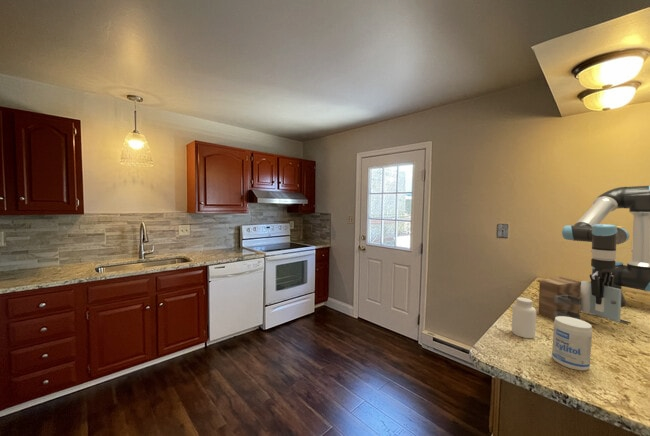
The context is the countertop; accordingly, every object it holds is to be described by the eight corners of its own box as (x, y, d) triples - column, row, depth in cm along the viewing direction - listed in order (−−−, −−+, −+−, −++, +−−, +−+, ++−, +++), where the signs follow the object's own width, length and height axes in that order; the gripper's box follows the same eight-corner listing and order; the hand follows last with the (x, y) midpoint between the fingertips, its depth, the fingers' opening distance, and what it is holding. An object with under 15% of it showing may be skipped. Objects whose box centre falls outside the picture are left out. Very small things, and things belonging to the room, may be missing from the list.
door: (583, 309, 126) (584, 280, 126) (622, 321, 113) (623, 289, 113) (578, 310, 125) (578, 281, 125) (616, 322, 112) (617, 290, 112)
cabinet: (560, 309, 138) (561, 277, 137) (595, 321, 124) (597, 285, 123) (534, 313, 133) (535, 279, 132) (568, 326, 119) (569, 288, 118)
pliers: (576, 306, 142) (633, 319, 125) (576, 307, 142) (633, 320, 125) (571, 309, 136) (629, 324, 120) (571, 311, 136) (629, 325, 120)
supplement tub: (552, 364, 90) (553, 321, 89) (551, 352, 97) (553, 313, 97) (592, 375, 84) (594, 330, 83) (588, 362, 91) (590, 320, 90)
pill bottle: (529, 340, 106) (530, 304, 105) (507, 332, 113) (508, 297, 112) (539, 336, 109) (540, 300, 109) (517, 328, 116) (518, 295, 116)
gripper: (603, 256, 123) (601, 305, 124) (581, 258, 119) (579, 309, 120) (625, 259, 116) (623, 311, 117) (603, 261, 112) (601, 316, 113)
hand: (601, 310), depth 119 cm, fingers closed on door, 2 cm apart
